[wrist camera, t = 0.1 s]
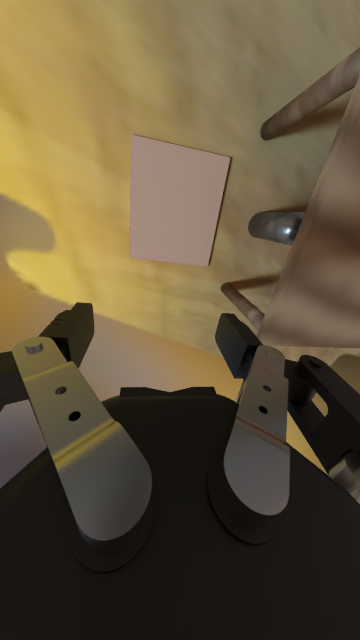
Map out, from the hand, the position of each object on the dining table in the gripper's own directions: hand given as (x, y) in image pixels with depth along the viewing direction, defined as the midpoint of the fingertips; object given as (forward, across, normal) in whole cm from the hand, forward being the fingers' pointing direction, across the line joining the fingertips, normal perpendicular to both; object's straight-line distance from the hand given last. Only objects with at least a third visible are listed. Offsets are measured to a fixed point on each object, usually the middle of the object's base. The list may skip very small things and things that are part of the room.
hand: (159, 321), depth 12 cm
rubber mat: (+29, -4, -7) cm, 30 cm away
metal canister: (+29, -21, -7) cm, 36 cm away
